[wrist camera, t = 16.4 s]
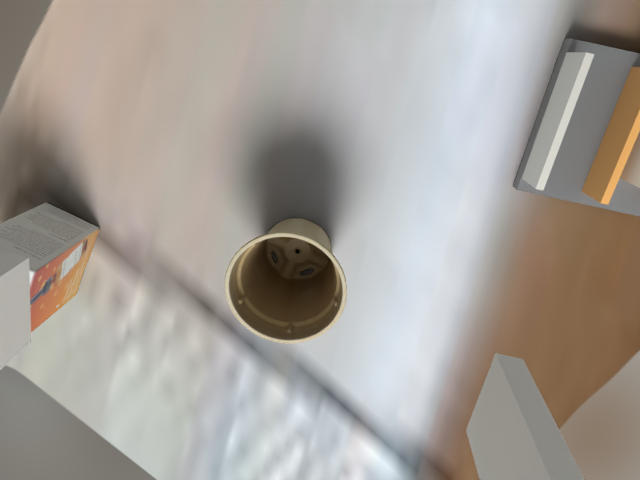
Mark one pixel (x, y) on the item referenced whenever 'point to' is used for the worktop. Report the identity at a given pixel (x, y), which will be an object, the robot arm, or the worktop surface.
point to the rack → (586, 129)
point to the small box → (49, 255)
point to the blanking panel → (633, 165)
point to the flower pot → (287, 283)
